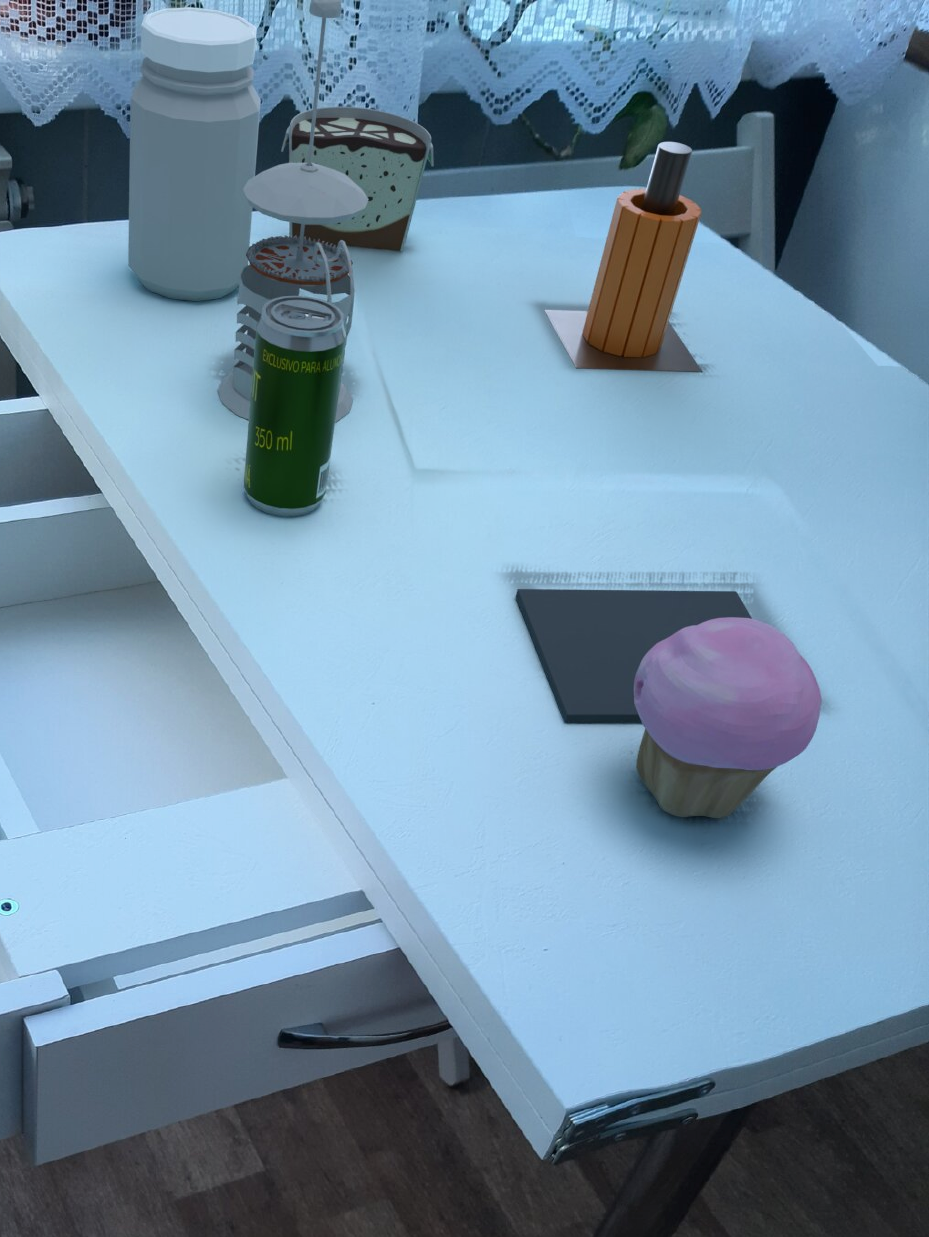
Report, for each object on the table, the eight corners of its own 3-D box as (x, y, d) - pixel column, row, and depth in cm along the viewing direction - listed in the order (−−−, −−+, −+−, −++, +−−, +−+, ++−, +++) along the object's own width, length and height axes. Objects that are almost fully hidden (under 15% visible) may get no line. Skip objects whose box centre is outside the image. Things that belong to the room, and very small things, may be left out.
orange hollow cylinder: (647, 324, 110) (686, 190, 103) (670, 359, 106) (712, 222, 99) (574, 321, 109) (608, 187, 102) (594, 356, 105) (631, 219, 98)
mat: (733, 599, 86) (736, 590, 86) (804, 722, 78) (808, 714, 78) (515, 597, 84) (517, 588, 84) (564, 723, 76) (567, 714, 76)
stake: (659, 328, 112) (719, 126, 102) (698, 387, 106) (767, 177, 95) (540, 324, 111) (588, 119, 100) (572, 383, 105) (627, 171, 94)
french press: (318, 357, 104) (365, -34, 86) (387, 432, 97) (454, 23, 79) (197, 371, 101) (218, -31, 83) (259, 450, 94) (297, 29, 76)
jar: (108, 290, 109) (109, 29, 96) (152, 245, 116) (159, -4, 103) (225, 316, 108) (243, 55, 95) (263, 269, 114) (285, 19, 101)
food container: (413, 238, 121) (433, 113, 114) (417, 267, 117) (438, 139, 110) (273, 225, 121) (284, 98, 114) (271, 253, 117) (283, 123, 109)
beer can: (328, 482, 92) (352, 301, 83) (319, 524, 88) (343, 340, 79) (248, 470, 92) (264, 289, 83) (236, 512, 88) (251, 327, 80)
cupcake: (742, 744, 76) (810, 590, 69) (792, 856, 70) (872, 700, 63) (585, 740, 75) (637, 583, 68) (621, 852, 70) (682, 694, 62)
